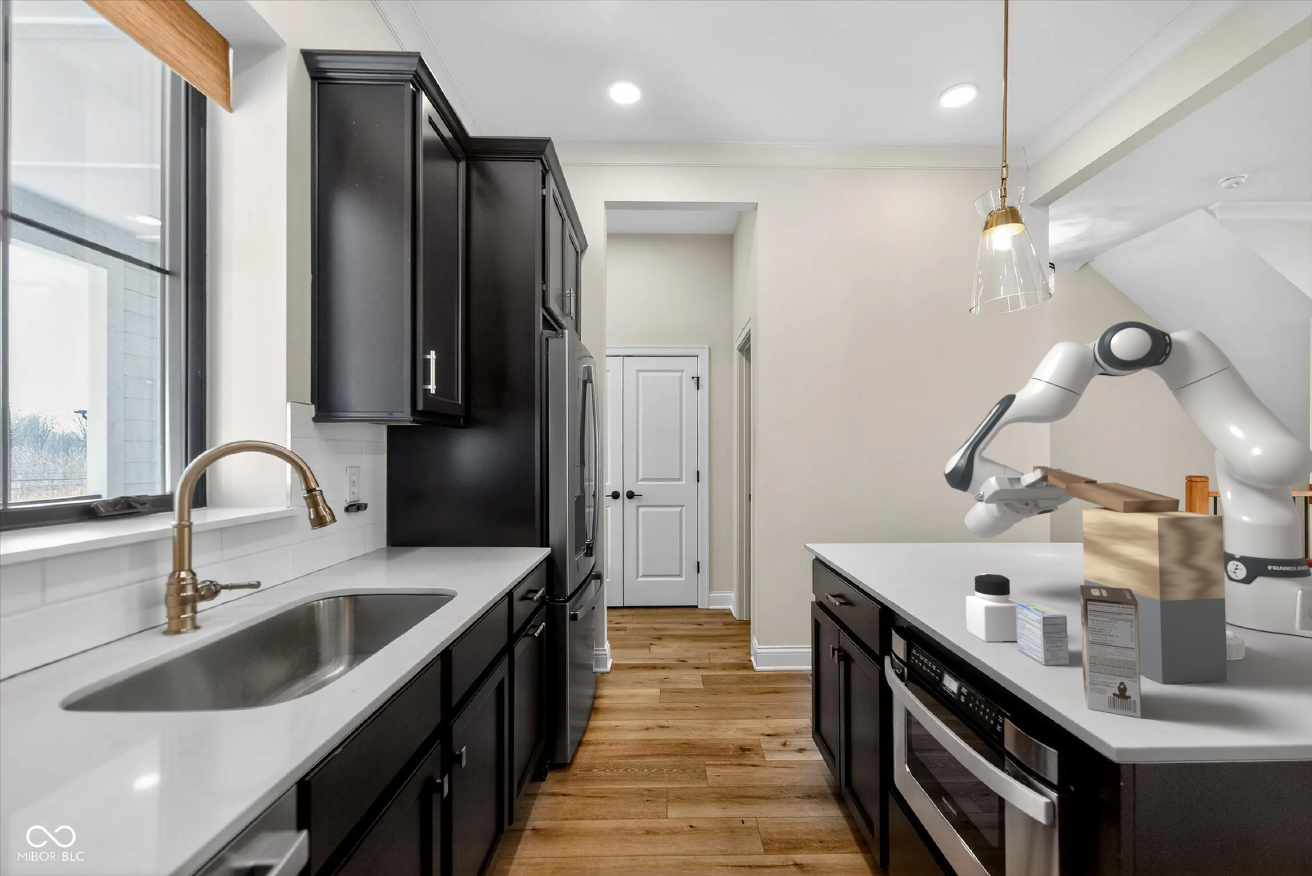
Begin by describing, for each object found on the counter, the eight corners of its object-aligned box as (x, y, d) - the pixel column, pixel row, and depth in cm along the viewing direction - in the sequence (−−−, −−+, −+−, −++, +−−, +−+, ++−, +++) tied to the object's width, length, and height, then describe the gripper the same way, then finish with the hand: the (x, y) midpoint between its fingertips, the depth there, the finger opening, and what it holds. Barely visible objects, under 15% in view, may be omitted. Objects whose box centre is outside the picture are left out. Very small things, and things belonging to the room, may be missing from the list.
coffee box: (1081, 686, 93) (1078, 583, 93) (1134, 695, 89) (1130, 587, 90) (1086, 709, 85) (1083, 596, 85) (1144, 719, 82) (1140, 602, 82)
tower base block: (1143, 648, 109) (1140, 577, 109) (1227, 680, 94) (1224, 598, 94) (1086, 650, 108) (1084, 579, 108) (1162, 683, 93) (1159, 600, 93)
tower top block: (1140, 577, 109) (1138, 506, 109) (1224, 598, 94) (1222, 515, 94) (1084, 579, 108) (1082, 507, 108) (1159, 600, 93) (1157, 517, 93)
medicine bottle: (1022, 641, 114) (1020, 579, 114) (984, 642, 114) (983, 579, 114) (1001, 630, 121) (999, 571, 121) (965, 630, 121) (964, 571, 121)
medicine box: (1069, 665, 101) (1068, 614, 101) (1043, 666, 101) (1041, 615, 102) (1040, 649, 109) (1039, 602, 109) (1016, 650, 109) (1014, 602, 109)
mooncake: (1181, 658, 104) (1180, 638, 104) (1142, 637, 116) (1141, 618, 116) (1264, 663, 101) (1263, 642, 101) (1215, 640, 113) (1215, 621, 113)
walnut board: (1059, 477, 128) (1061, 465, 127) (1178, 511, 101) (1179, 496, 101) (1015, 478, 127) (1016, 466, 127) (1122, 512, 100) (1124, 498, 100)
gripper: (965, 488, 136) (999, 459, 124) (1050, 486, 137) (1091, 457, 125) (974, 513, 132) (1010, 486, 121) (1061, 511, 134) (1104, 484, 122)
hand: (1052, 471), depth 123 cm, fingers closed on walnut board, 2 cm apart
